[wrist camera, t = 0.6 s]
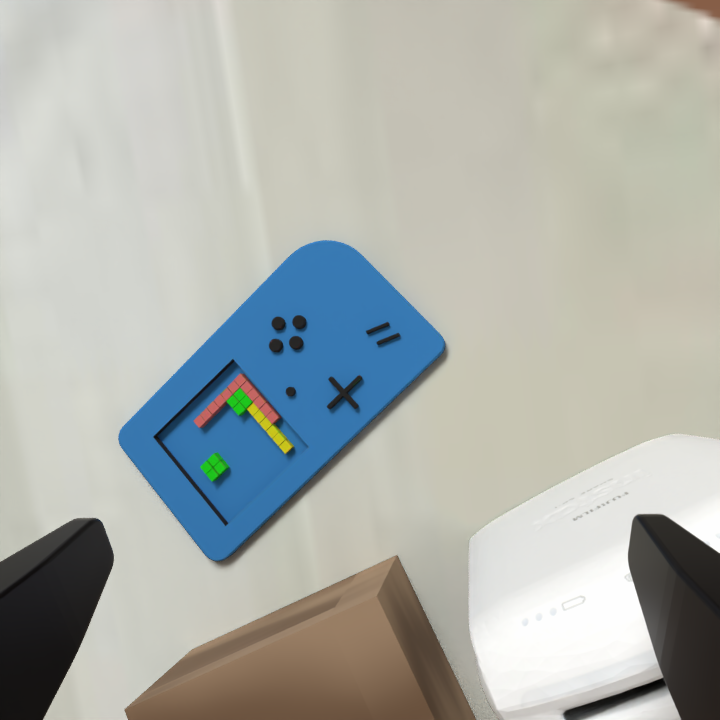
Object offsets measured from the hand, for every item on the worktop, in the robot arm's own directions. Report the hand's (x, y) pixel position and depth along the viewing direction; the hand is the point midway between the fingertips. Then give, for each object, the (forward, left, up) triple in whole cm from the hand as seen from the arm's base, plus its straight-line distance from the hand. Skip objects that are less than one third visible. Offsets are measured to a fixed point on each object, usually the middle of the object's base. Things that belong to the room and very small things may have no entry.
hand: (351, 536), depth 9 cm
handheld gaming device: (+5, +5, -16) cm, 17 cm away
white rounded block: (-6, -5, -15) cm, 17 cm away
